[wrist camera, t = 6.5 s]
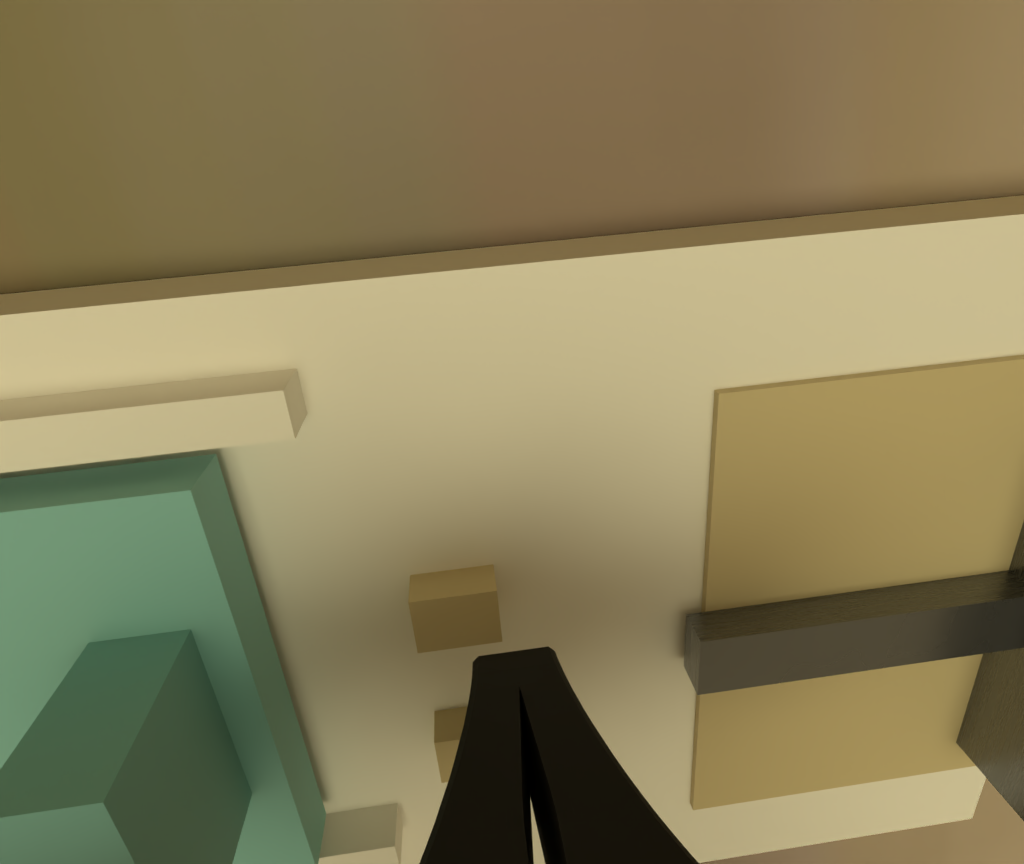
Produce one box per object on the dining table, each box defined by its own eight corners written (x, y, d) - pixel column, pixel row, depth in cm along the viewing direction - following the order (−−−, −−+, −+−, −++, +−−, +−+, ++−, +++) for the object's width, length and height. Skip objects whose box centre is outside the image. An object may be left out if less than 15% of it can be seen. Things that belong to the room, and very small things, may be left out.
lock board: (921, 754, 19) (1001, 855, 17) (23, 894, 18) (-53, 1031, 15) (1077, 190, 13) (1256, 203, 10) (-353, 329, 11) (-616, 391, 8)
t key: (1017, 733, 16) (1128, 846, 13) (678, 785, 15) (726, 913, 13) (1138, 394, 12) (1327, 462, 9) (694, 448, 11) (766, 535, 9)
